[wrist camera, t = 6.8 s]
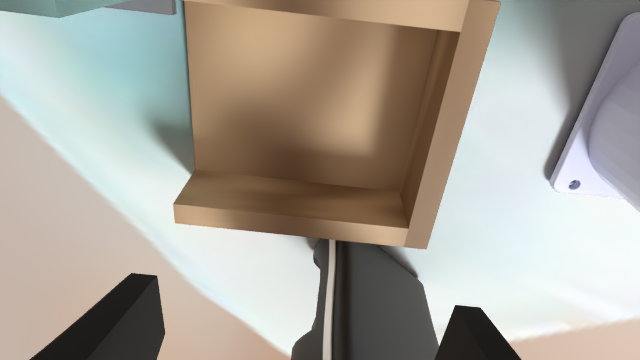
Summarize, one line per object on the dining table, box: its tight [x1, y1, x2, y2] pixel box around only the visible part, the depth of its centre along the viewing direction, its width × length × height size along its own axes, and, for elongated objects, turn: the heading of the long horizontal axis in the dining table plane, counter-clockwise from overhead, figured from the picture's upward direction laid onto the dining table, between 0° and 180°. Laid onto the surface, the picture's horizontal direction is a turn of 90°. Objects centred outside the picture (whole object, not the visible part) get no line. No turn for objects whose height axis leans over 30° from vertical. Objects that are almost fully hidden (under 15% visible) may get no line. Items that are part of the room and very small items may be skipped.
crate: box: [173, 0, 501, 249], centre depth 16 cm, size 11×10×3 cm
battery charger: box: [291, 239, 439, 360], centre depth 18 cm, size 7×4×11 cm, turn 46°
